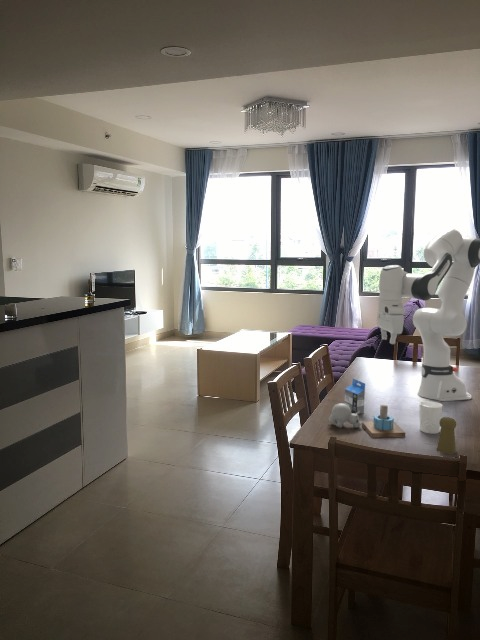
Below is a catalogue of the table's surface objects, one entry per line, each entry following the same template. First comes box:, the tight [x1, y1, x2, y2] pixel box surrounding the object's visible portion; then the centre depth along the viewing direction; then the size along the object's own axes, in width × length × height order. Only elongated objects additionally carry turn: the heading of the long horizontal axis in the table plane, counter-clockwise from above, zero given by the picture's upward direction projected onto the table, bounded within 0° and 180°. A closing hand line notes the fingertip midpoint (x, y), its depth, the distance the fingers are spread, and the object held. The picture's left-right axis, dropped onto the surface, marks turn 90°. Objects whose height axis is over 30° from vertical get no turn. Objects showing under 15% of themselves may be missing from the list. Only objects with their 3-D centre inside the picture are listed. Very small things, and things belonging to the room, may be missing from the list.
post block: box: [361, 404, 406, 438], centre depth 194 cm, size 12×12×10 cm
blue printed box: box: [344, 378, 366, 415], centre depth 218 cm, size 9×4×12 cm, turn 23°
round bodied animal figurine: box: [328, 402, 364, 429], centre depth 199 cm, size 7×12×8 cm, turn 71°
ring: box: [373, 414, 395, 430], centre depth 195 cm, size 7×7×4 cm
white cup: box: [418, 400, 443, 435], centre depth 195 cm, size 8×8×10 cm
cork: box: [436, 416, 457, 455], centre depth 177 cm, size 6×6×11 cm
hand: (388, 341), depth 212 cm, fingers open, 8 cm apart
